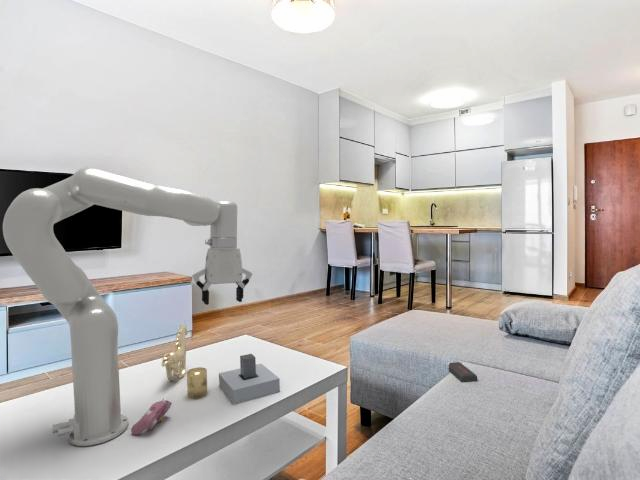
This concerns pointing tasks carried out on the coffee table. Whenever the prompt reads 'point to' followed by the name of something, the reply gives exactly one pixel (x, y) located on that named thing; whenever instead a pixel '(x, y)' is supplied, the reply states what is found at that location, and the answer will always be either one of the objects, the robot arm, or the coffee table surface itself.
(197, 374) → the round bit
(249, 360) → the square bit
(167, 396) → the coffee table surface
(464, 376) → the usb drive
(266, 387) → the socket block
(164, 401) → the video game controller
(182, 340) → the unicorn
